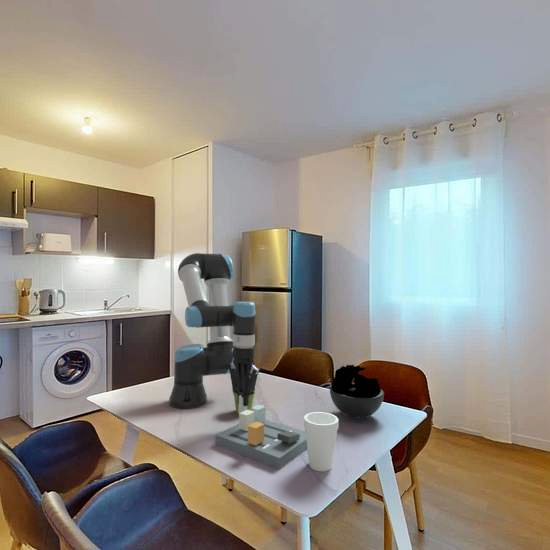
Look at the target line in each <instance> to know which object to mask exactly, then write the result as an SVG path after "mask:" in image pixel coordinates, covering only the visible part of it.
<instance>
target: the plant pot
mask: <svg viewBox="0 0 550 550" xmlns="http://www.w3.org/2000/svg"><path fill="white" fill-rule="evenodd" d="M256 391H257V388H256V387H255V389H254V394H253V395H250V396H249V404H248V405H247V410H250V411H251V408H252V407H254V406H253V405H254V404H253V403H254V398H255V394H256ZM231 392H232V394H233V396H234V404H235V405H234V406H235V412H236V413H237V414H238V415H239V404H238V395H237V394H236V393H234V392H233V388H232V389H231Z"/></svg>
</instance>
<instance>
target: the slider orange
mask: <svg viewBox="0 0 550 550" xmlns="http://www.w3.org/2000/svg"><path fill="white" fill-rule="evenodd" d="M263 441H264V424H263V423H260V422H255V423H253V424H251V425H249V426H248V443H249V444H252V445H255V446H256V445H258V444H260V443H261V442H263Z"/></svg>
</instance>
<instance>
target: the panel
mask: <svg viewBox="0 0 550 550" xmlns="http://www.w3.org/2000/svg"><path fill="white" fill-rule="evenodd" d="M263 424H264V441H263V442H261V443H260V444H258V445H256V446H255V445H252V444H249V443H248V431H244V430H241V429H239V423H238V424H235V425H233V426H230V427H229V428H227V429H226V430H223V431H221V432H219V433H217V434H215V445H216V446H218V447H221V448H224V449H226V450H229V451H231V452H234V453H237V454H239V455H242V456H244V457H247V458H249V459H252V460H255V461H258V462H260V463H262V464H265V465H268V466H270V467H273V468H276V469H278V470H280V469H282V468H283V467H284V466H285V465H287V464H288V463H290V462H292V460H293V459H295V458H297V457H298V456H299V455H300V454H301V453H303V452H304V451H306V450H307V442H306V433H305V430H302V429H298V428H295V427H292V426H288V425H285V424H281V423H278V422H274V421H272V420H267V419H265V422H263ZM286 431H290V432H294V433H297V434H300V437H299V440H297V441H294V442H290V443H287V442H284V441H281V440H278V439H277V436H278V433H282V432H286Z"/></svg>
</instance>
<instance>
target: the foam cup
mask: <svg viewBox="0 0 550 550" xmlns="http://www.w3.org/2000/svg"><path fill="white" fill-rule="evenodd" d="M303 426H304V431H305V433H306V442H307V449H306V450H307V457H308V458H307V459H308V465H309V467H310V469H312V470H314V471H316V472H327V471H330V470H332V467H333V463H334V458H335V457H334V456H335V449H336V442H337V435H338V430H339V418H338V417H337V415H334V414H333V413H330V412H321V411H314V412H309V413H307V414H306V413H305V415H304V416H303Z"/></svg>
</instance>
